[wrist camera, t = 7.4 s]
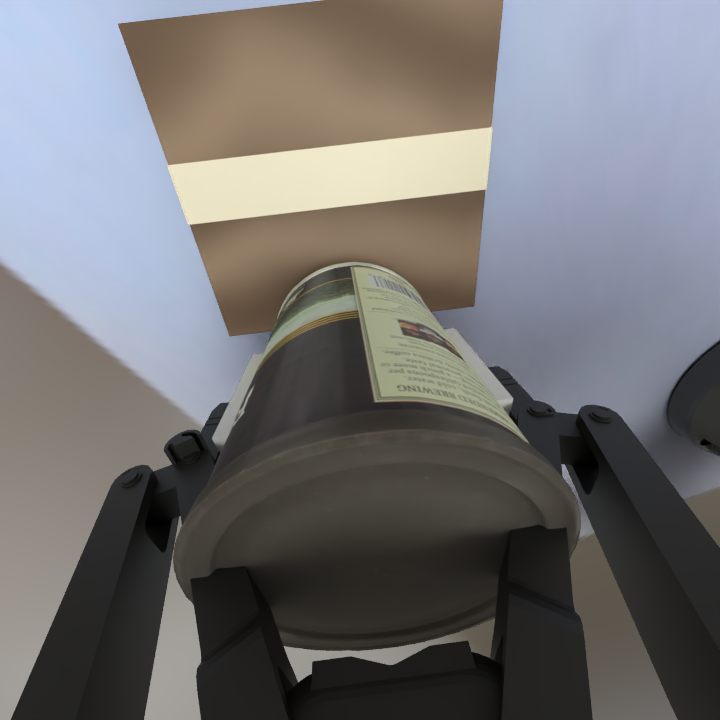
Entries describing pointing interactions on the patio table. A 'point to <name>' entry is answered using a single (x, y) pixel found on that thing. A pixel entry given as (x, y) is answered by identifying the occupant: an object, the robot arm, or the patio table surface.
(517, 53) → the patio table surface
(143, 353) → the patio table surface
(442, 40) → the board
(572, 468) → the robot arm
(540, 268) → the patio table surface
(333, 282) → the coffee can
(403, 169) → the strip
